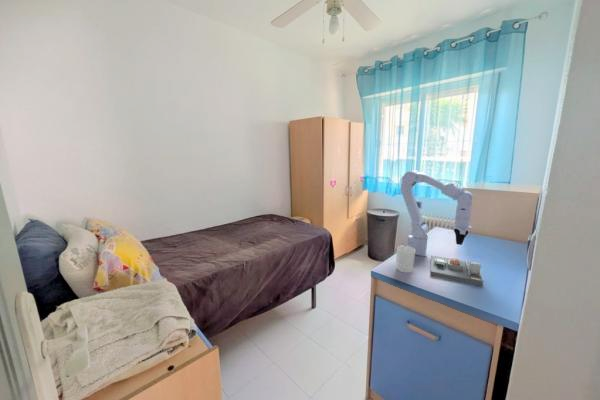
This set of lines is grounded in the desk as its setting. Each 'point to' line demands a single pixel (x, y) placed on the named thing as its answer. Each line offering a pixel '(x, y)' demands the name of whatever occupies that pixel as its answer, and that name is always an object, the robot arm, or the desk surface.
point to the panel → (454, 271)
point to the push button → (454, 261)
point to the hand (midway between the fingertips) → (458, 244)
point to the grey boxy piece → (474, 268)
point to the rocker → (440, 261)
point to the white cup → (405, 258)
